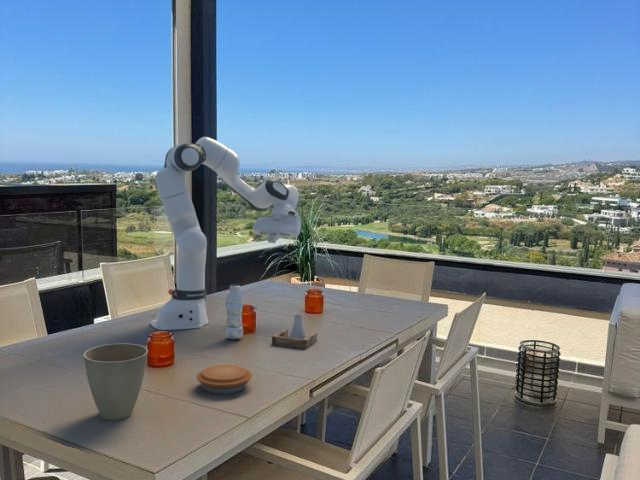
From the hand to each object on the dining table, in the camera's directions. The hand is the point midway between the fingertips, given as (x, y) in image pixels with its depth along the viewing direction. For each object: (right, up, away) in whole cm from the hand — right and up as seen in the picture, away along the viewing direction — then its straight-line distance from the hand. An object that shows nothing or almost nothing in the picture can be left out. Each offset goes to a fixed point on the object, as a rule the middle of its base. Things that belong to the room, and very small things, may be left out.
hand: (271, 242), depth 237 cm
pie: (-7, -41, -72) cm, 84 cm away
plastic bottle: (-12, -36, -23) cm, 44 cm away
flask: (+12, -37, -23) cm, 45 cm away
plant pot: (-31, -43, -93) cm, 107 cm away
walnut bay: (+11, -37, -25) cm, 46 cm away
